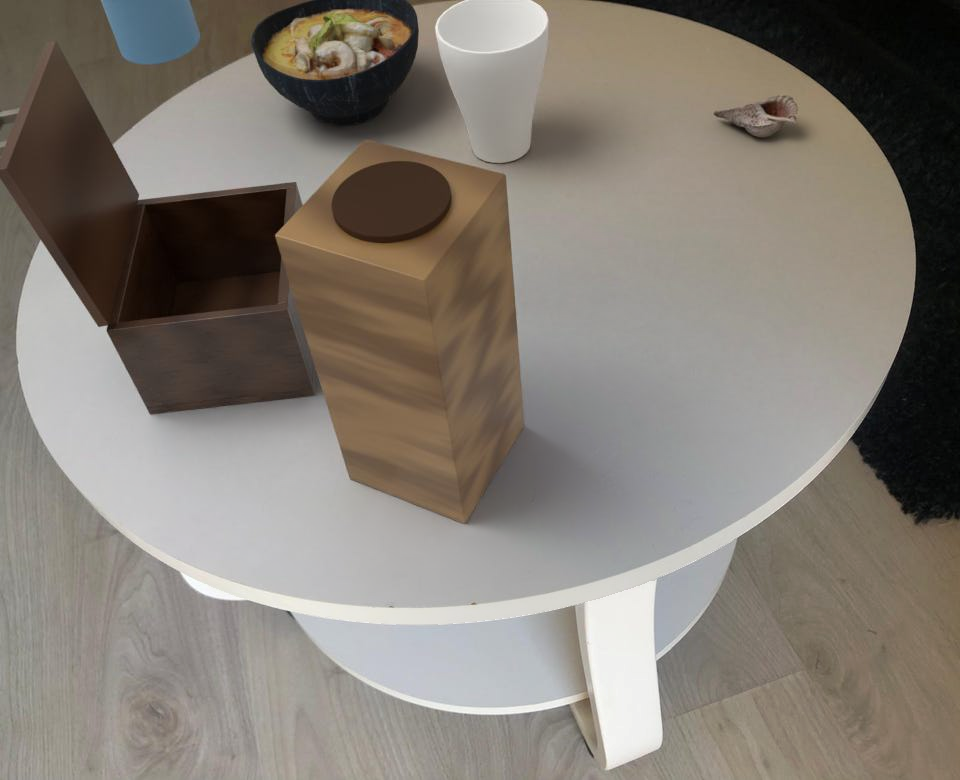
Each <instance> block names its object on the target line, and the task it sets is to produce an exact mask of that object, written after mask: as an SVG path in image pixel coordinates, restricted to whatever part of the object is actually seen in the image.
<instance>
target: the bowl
mask: <svg viewBox="0 0 960 780" xmlns="http://www.w3.org/2000/svg"><path fill="white" fill-rule="evenodd" d="M419 32H420V29H419V20H418V14H417V11H416V9H415V8H414V6H413V5H412V4H411V3H410V2H409V1H408V0H308V1H305V2H301V3H297V4H295V5H291V6H289V7H286V8H283V9H281V10H278V11H275V12H274V13H272V14H270V15H269V16H266V17H265V18H264V19H263V20H261V21H260V22H259V23H258V24H257V25H256V27H255V28H254V30H253V32H252V35H251V41H250V42H251V47H252V50H253V53H254V56H255V59H256V62H257V64H258V67H259V69H260V71H261V73H262V75H263V77H264V78H265V79H266V81H267V82H268V83H269V85H271V87H272V88H273V89H274V90H275V91H276V92H277V93H279V95H280V96H282V97H283V98H284V99H286V100H287V101H289V102H290V103H292V104H293V105H295V106H297V107H299V108H301V109H302V110H305V111H307V112H309V113H311V115H313V117H314V118H315V119H316V120H318V121H319V122H321V123H324V124H327V125H332V126H340V127H341V126H343V127H346V126H347V127H348V126H354V125H358V124H362V123H366V122H368V121H369V120H372V119H374V118H376V117H378V116H379V115H380V114H381V113H382V112H383V111H384V110H385V109H386V107H387V105H388V102H389V100H390V98H391V97H392V96H393V95H394V94H395V93H396V92H397V91H398V89H399V88H400V87H401V86H402V84H403V83H404V81H405V80H406V78H407V77H408V75H409V74H410V72H411V70H412V69H413V68H412V67H413V66H414V62H415V59H416V57H417V52H418V47H419V36H420V35H419V34H420V33H419Z"/></svg>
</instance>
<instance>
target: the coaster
mask: <svg viewBox="0 0 960 780" xmlns="http://www.w3.org/2000/svg"><path fill="white" fill-rule="evenodd" d="M451 199H452V197H451V189H450V186H449V183H448V181H447V180H446V178H445V177H444V176H443V175H442V174H441V173H440V172H439V171H437V170H436V169H434V168H432V167H430V166H428V165H425V164H421V163H417V162H411V161H390V162H383V163H379V164H375V165H371V166H368V167H366V168H363V169H361V170H359V171H357V172H355V173H354V174H352V175H351V176H349V177H348V178H347V179H345V180H344V181H343V182H342V183H341V184H340V186H339V187H338V188H337V190H336V191H335V193H334V196H333V198H332V212H333V216H334V219H335V221H336V223H337V225H338V226H339V227H340V228H341V229H342V230H343V231H344V232H345V233H347V234H348V235H350V236H352V237H354V238H357V239H360V240H363V241H368V242H375V243H392V242H399V241H404V240H408V239H411V238H414V237H417V236H419V235H422V234H424V233H426V232H427V231H429V230H431V229H432V228H434V227H435V226H436V225H437V224H439V223H440V222H441V221H442V219H443V218H444V217H445V216H446V214H447V213H448V211H449V208H450V205H451Z"/></svg>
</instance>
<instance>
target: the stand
mask: <svg viewBox="0 0 960 780" xmlns="http://www.w3.org/2000/svg"><path fill="white" fill-rule="evenodd" d="M390 161H411V162H417V163H421V164H425V165H428V166H430V167H432V168H434V169H436V170H437V171H439V172H440V173H441V174H442V175H443V176H444V177H445V178H446V180H447V181H448V183H449V186H450V189H451V197H452V199H451V205H450V208H449V211H448V213H447V214H446V216H445V217H444V218H443V219H442V221H441V222H440V223H439V224H437V225H436V226H435V227H434V228H432V229H431V230H429V231H427V232H426V233H424V234H422V235H419V236H417V237H414V238H411V239H408V240H404V241H399V242H392V243H375V242H368V241H363V240H360V239H357V238H354V237H352V236H350V235H348V234H347V233H345V232H344V231H343V230H342V229H341V228H340V227H339V226H338V225H337V223H336V221H335V219H334V216H333V212H332V198H333V196H334V193H335V191H336V190H337V188H338V187H339V186H340V184H341V183H342V182H343V181H344V180H345V179H347V178H348V177H349V176H351V175H352V174H354V173H355V172H357V171H359V170H361V169H363V168H366V167H368V166H371V165H375V164H379V163H383V162H390ZM508 197H509V196H508V186H507V175H506V173H502V172H498V171H494V170H490V169H487V168H482V167H478V166H474V165H471V164H466V163H462V162H459V161H454V160H450V159H447V158H443V157H438V156H434V155H430V154H427V153H426V154H425V153H422V152H418V151H414V150H410V149H406V148H403V147H398V146H394V145H389V144H387V143H386V144H385V143H381V142H378V141H374V140H370V139H365V138H364V139H363V141H361V142H360V144H359V145H357V147H356V148H355V149H354V150H353V151H352V152H351V153H350V154H349V155H348V156H347V158H345V160H344V161H343V162H342V163H341V164H340V165H339V166H338V167H337V168H336V169H335V170H334V172H333V173H331V175H329V177H328V178H327V179H325V181H323V183H322V184H321V185H320V186H319V187H318V189H316V190H315V192H314V193H312V195H311V196H310V197H309V198H308V199H307V200H306V201H305V202H304V203H303V204H302V205H303V206H302V207H301V208H300V209H299V210H298V211H297V212H296V213H295V214H294V215H293V216H292V217H291V219H290V220H289V221H288V222H287V223H286V224H285V225H284V226H283V227H282V228H281V229H280V230H279V231H278V232H277V233H276V235H275V237H276V241H277V244H278V247H279V250H280V254H281V257H282V260H283V263H284V267H285V270H286V273H287V276H288V280H289V283H290V286H291V289H292V293H293V296H294V299H295V303H296V306H297V309H298V312H299V316H300V319H301V322H302V325H303V329H304V332H305V335H306V338H307V342H308V345H309V348H310V351H311V355H312V358H313V361H314V365H315V372H316V375H317V378H318V380H319V384H320V387H321V390H322V394H323V397H324V400H325V404H326V407H327V410H328V414H329V416H330V420H331V424H332V426H333V431H334V433H335V436H336V440H337V443H338V446H339V449H340V452H341V456H342V459H343V462H344V465H345V469H346V472H347V476H348V478H349V479H350V480H352V481H355V482H357V483H360V484H362V485H365V486H367V487H370V488H372V489H375V490H378V491H379V492H381V493H382V492H383V493H385V494H388V495H390V496H393V497H395V498H398V499H400V500H403V501H405V502H408V503H411V504H413V505H415V506H418V507H421V508H423V509H425V510H428V511H431V512H433V513H436V514H439V515H441V516H443V517H445V518H448V519H451V520H454V521H456V522H459V523H461V524H463V525H466V524H467V521H468V520H469V518H470V517H471V515H472V514H473V511H474V510H475V508H476V507H477V505H478V504H479V502H480V500H481V498H482V496H484V493H485V492H486V490H487V488H488V487H489V485H490V484H491V482H492V480H493V478H494V477H495V475H496V474H497V472H498V470H499V469H500V467H501V465H502V464H503V462H504V461H505V459H506V457H507V456H508V454H509V452H510V451H511V449H512V447H513V445H514V444H515V442H516V440H517V439H518V437H519V436H520V434H521V432H522V431H523V429H524V427H525V414H524V401H523V388H522V374H521V373H522V372H521V360H520V359H521V358H520V348H519V332H518V320H517V307H516V306H517V305H516V295H515V294H516V292H515V279H514V267H513V266H514V265H513V253H512V251H513V250H512V239H511V227H510V226H511V225H510V211H509V199H508Z"/></svg>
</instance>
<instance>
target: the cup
mask: <svg viewBox="0 0 960 780" xmlns="http://www.w3.org/2000/svg"><path fill="white" fill-rule="evenodd" d="M549 24H550V20H549V17H548V13H547V12H546V11H545V9H544V8H543V7H542V6H541V5H540V4H538V3H537V2H535V1H533V0H462V1H460V2H458V3H456V4H453V5H452V6H450V7H449V8H447V9H446V10H444V11H443V12H442V14H441V15H440V16H439V17H438V18H437V20H436V23H435V26H434V30H435V37H436V42H437V46H438V52H439V57H440V60H441V63H442V66H443V69H444V72H445V75H446V78H447V82H448V84H449V87H450V89H451V91H452V92H451V93H452V94H453V96H454V99H455V101H456V103H457V106H458V108H459V110H460V112H461V115H462V119H463V121H464V124H465V127H466V129H467V134H468V139H469V142H470V148H471V151H472V153H473V154H474V156H475V157H477V158H478V159H479V160H482V161H484V162H488V163H492V164H505V163H510V162H513V161H516V160H518V159H520V158H522V157H524V155H526V154H527V153H528V152H529V150H530V148H531V142H532V129H533V128H532V127H533V119H534V118H533V117H534V114H535V108H536V103H537V100H538V95H539V91H540V87H541V84H542V79H543V74H544V69H545V62H546V57H547V50H548V44H549V26H550V25H549Z"/></svg>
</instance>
